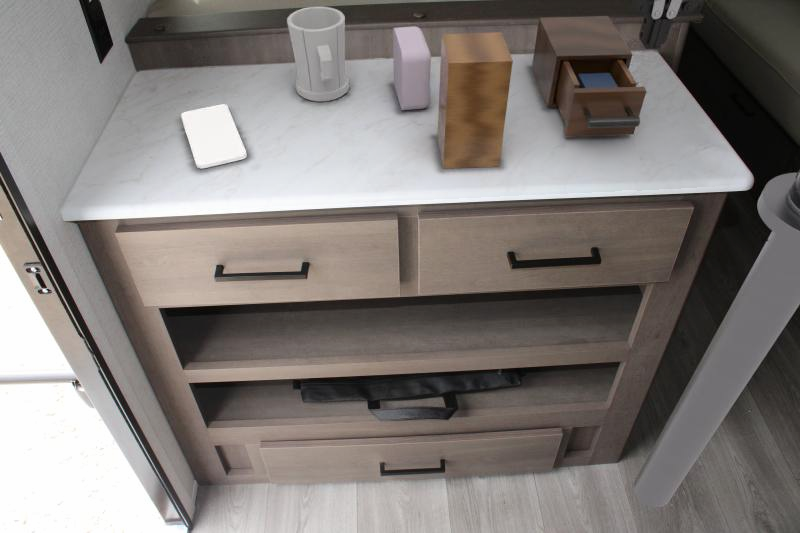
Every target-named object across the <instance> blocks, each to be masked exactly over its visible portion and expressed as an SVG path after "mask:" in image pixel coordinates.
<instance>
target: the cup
mask: <svg viewBox="0 0 800 533" xmlns="http://www.w3.org/2000/svg"><path fill="white" fill-rule="evenodd" d="M345 18H346V17H345V14H344V13H343V12H342V11H341V10H339V9H336V8H334V7H329V6H309V7H308V6H307V7H303V8H301V9H297V10H295V11H293V12H292V13H290V14H289V16H288V17H287V18H286V24H287V28H288V32H289V38H290V41H291V46H292V52H293V57H294V63H295V70H296V77H297V78H296V80H295V89H296V92H297V94H298V95H299V96H301V97H302V98H304V99H306V100H307V101H312V102H317V103H318V102H319V103H323V102H331V101H335V100H337V99H339V98H342V97H343V96H344V95H346V93H348V91H349V89H350V78H349V76H348V75H347V73H346V72H347V71H346V45H345V44H346V43H345V42H346V40H345V39H346V37H345V36H346V26H345V25H346V19H345Z"/></svg>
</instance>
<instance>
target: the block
mask: <svg viewBox="0 0 800 533" xmlns="http://www.w3.org/2000/svg"><path fill="white" fill-rule="evenodd" d="M577 80H578V82H579V84H580V86H579V88H611V87H618V86H617V84H616V83H615V81H614V79H613V78H612V76H611V74H610V73H592V74H578V77H577Z"/></svg>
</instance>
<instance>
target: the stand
mask: <svg viewBox="0 0 800 533" xmlns="http://www.w3.org/2000/svg"><path fill="white" fill-rule="evenodd" d="M513 62H514V61H513V57H512V55H511V53H510V50H509V47H508V45H507V42H506V40H505V37H504V35H503V32H501V31H499V32H469V33H468V32H467V33H464V32H463V33H442V34H441V46H440V67H439V68H440V70H439V92H438V93H439V94H438V116H437V117H438V118H437V142H438V147H439V152H440V157H441V158H440V159H441V164H442V169H467V168H469V169H470V168H492V167H493V168H495V167H500V164H501V155H502V149H503V148H502V146H503V141H504V140H503V139H504V133H505V126H506V125H505V124H506V117H507V110H508V103H509V102H508V101H509V94H510V92H509V91H510V87H511V86H510V85H511V77H512V69H513Z"/></svg>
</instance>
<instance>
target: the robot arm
mask: <svg viewBox="0 0 800 533" xmlns="http://www.w3.org/2000/svg"><path fill="white" fill-rule="evenodd" d="M629 1H630V3H631V5H632V6H633V8H634V9H635V10H636V12H637V13H638V14H639V15H643V17H642V18H643V19H642V22H641V26H640V30H639V33H638V38H639V41H640V42H641V45H642V46H643V47H644V49H645V50H659V49H660V48H661V46H662V45H664V44H665V43H666V42H667V40H668V37H669V33H670V30H671V27H672V24H673V20H674V18H676V17H677V15H679V14H682V13H686V14H690V13H692V12H693V11H694V10H695V9H697V8H698V6H700V5H701V4H702V3H703V2H704V1H705V0H629ZM796 173H797V175H796V177H795V178H796V180H795V181H794V183H793V185H792V187H791V188H790V190H789V191H788V193H787V202H788V204H789V205H790V207H791V208H792V209H793V210H794V211H795V212H796V213H797V214H798V215H800V168H799V169H798V171H797V172H796Z"/></svg>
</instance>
